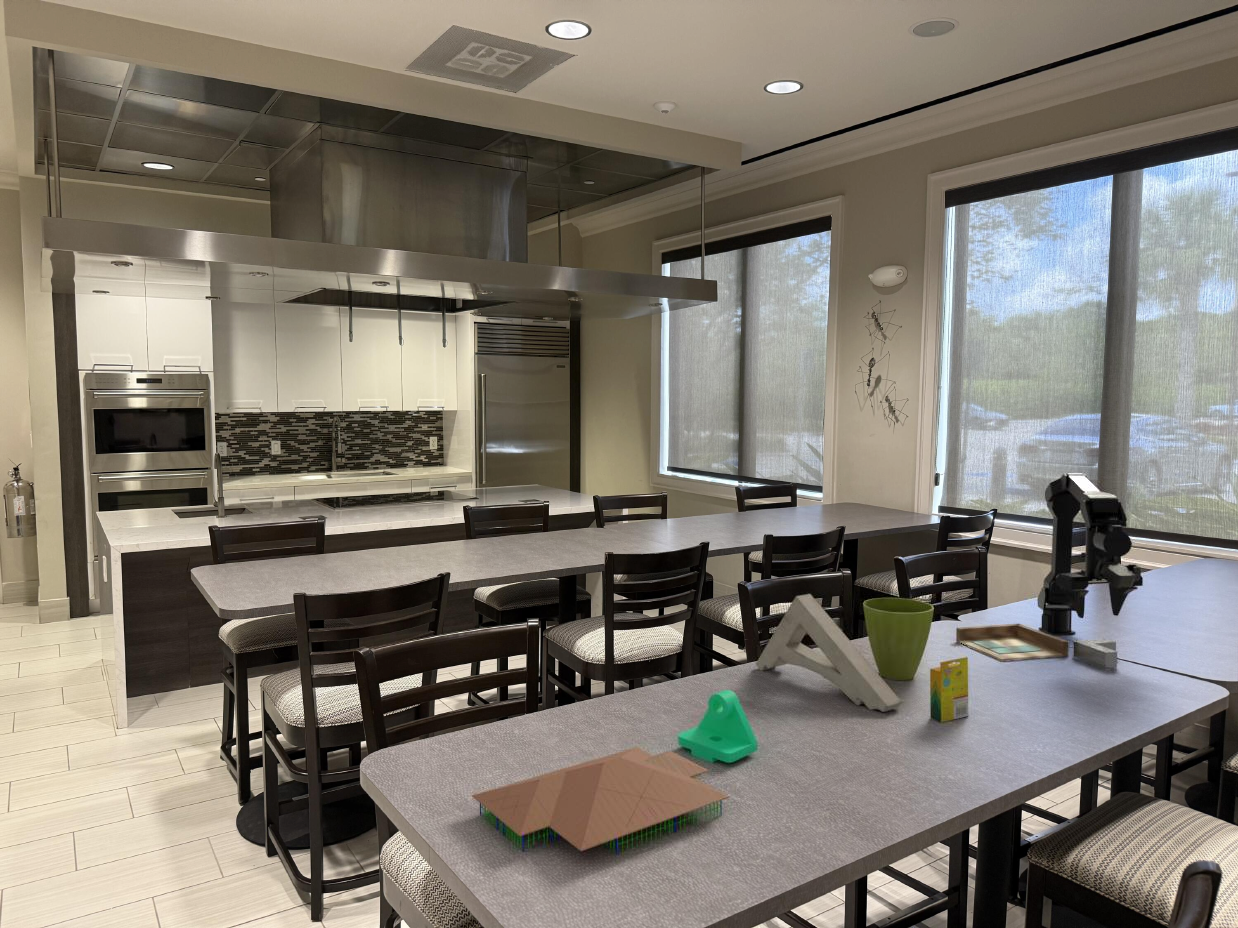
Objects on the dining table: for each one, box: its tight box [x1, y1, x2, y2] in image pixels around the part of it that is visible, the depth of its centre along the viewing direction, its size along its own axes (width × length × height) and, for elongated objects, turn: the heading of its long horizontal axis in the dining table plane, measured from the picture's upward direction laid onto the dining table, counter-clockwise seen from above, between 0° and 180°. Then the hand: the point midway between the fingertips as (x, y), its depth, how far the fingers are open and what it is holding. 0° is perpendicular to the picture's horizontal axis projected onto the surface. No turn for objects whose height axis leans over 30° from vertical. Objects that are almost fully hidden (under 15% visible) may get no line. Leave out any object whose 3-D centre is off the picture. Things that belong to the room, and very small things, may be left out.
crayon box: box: [929, 656, 969, 724], centre depth 161 cm, size 7×3×12 cm, turn 115°
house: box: [471, 747, 730, 856], centre depth 124 cm, size 23×33×8 cm
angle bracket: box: [1072, 638, 1118, 670], centre depth 196 cm, size 10×9×4 cm
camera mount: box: [677, 689, 758, 763], centre depth 146 cm, size 12×8×10 cm, turn 44°
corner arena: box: [955, 623, 1070, 662], centre depth 208 cm, size 18×18×4 cm
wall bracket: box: [755, 593, 903, 713], centre depth 179 cm, size 22×4×30 cm
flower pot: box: [862, 597, 935, 681], centre depth 187 cm, size 15×15×16 cm
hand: (1098, 616), depth 194 cm, fingers open, 9 cm apart
